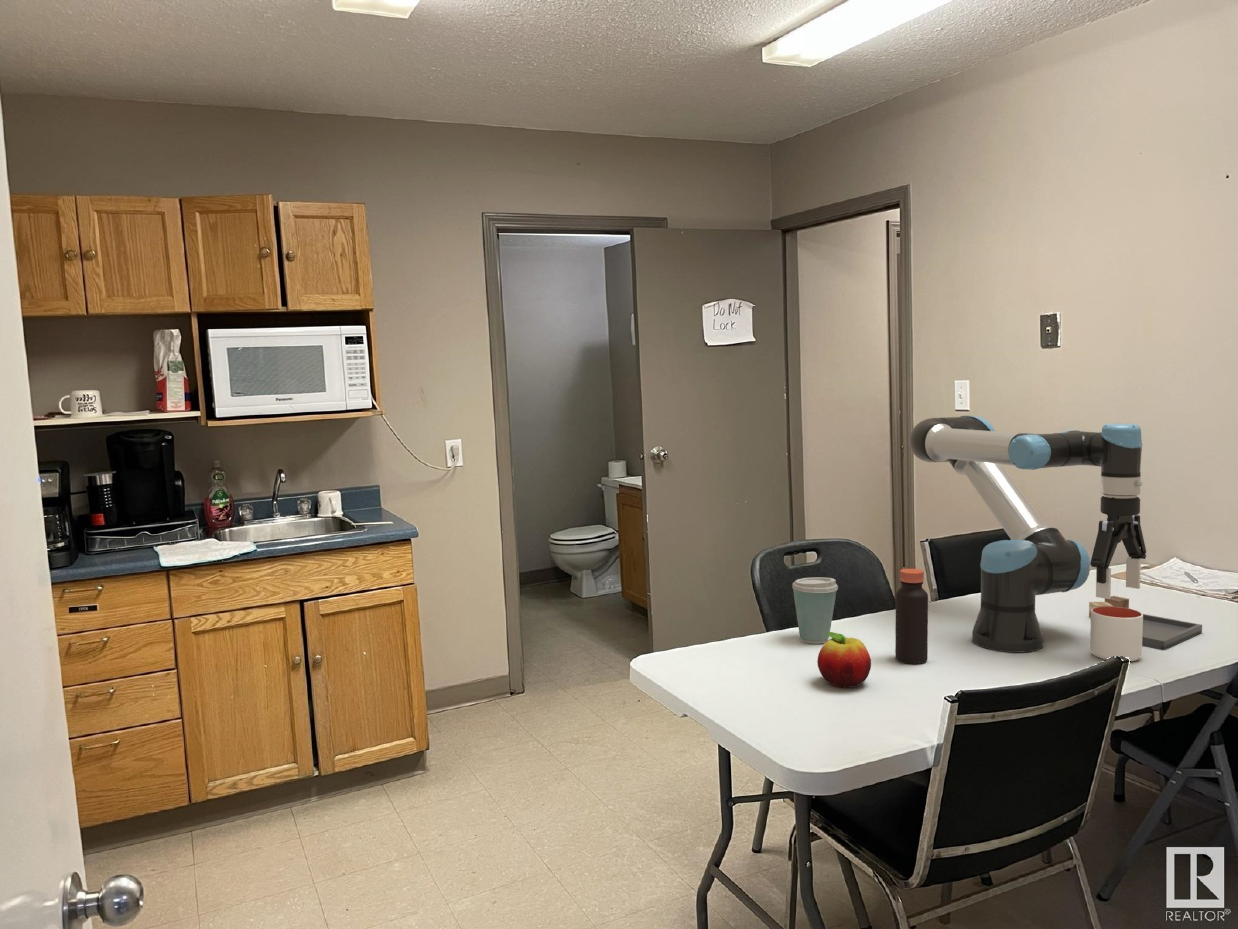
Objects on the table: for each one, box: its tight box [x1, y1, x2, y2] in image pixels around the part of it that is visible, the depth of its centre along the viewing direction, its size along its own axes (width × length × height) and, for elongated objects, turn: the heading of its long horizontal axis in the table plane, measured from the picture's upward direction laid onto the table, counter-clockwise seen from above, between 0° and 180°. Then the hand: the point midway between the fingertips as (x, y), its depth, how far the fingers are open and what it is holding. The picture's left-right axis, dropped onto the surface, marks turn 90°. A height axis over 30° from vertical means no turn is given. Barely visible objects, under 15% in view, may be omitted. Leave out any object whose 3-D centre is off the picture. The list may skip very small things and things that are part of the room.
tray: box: [1142, 613, 1203, 651], centre depth 218 cm, size 20×16×2 cm
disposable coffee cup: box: [791, 576, 839, 645], centre depth 219 cm, size 11×11×15 cm
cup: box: [1089, 606, 1144, 662], centre depth 202 cm, size 10×10×10 cm
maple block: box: [1088, 601, 1113, 619], centre depth 231 cm, size 4×4×4 cm
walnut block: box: [1104, 595, 1130, 609], centre depth 236 cm, size 4×4×4 cm
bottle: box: [894, 568, 929, 665], centre depth 202 cm, size 7×7×20 cm
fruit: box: [816, 631, 872, 689], centre depth 189 cm, size 11×11×10 cm
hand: (1118, 592), depth 200 cm, fingers open, 13 cm apart
